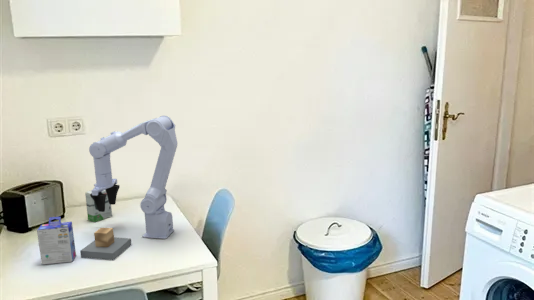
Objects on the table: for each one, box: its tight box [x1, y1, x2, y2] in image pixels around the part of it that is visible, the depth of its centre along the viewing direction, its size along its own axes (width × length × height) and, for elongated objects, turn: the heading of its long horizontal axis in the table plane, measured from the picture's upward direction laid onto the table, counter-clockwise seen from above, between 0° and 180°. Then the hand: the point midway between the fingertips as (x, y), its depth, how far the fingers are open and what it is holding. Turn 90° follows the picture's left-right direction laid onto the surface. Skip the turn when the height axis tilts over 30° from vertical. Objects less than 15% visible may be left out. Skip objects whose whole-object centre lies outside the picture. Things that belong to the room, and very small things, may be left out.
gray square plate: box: [79, 236, 132, 261], centre depth 160 cm, size 12×12×3 cm
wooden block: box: [93, 227, 115, 247], centre depth 159 cm, size 4×4×5 cm
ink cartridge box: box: [36, 216, 77, 265], centre depth 152 cm, size 10×6×14 cm, turn 101°
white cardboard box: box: [84, 190, 113, 223], centre depth 189 cm, size 9×5×12 cm, turn 143°
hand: (107, 207), depth 174 cm, fingers open, 7 cm apart
